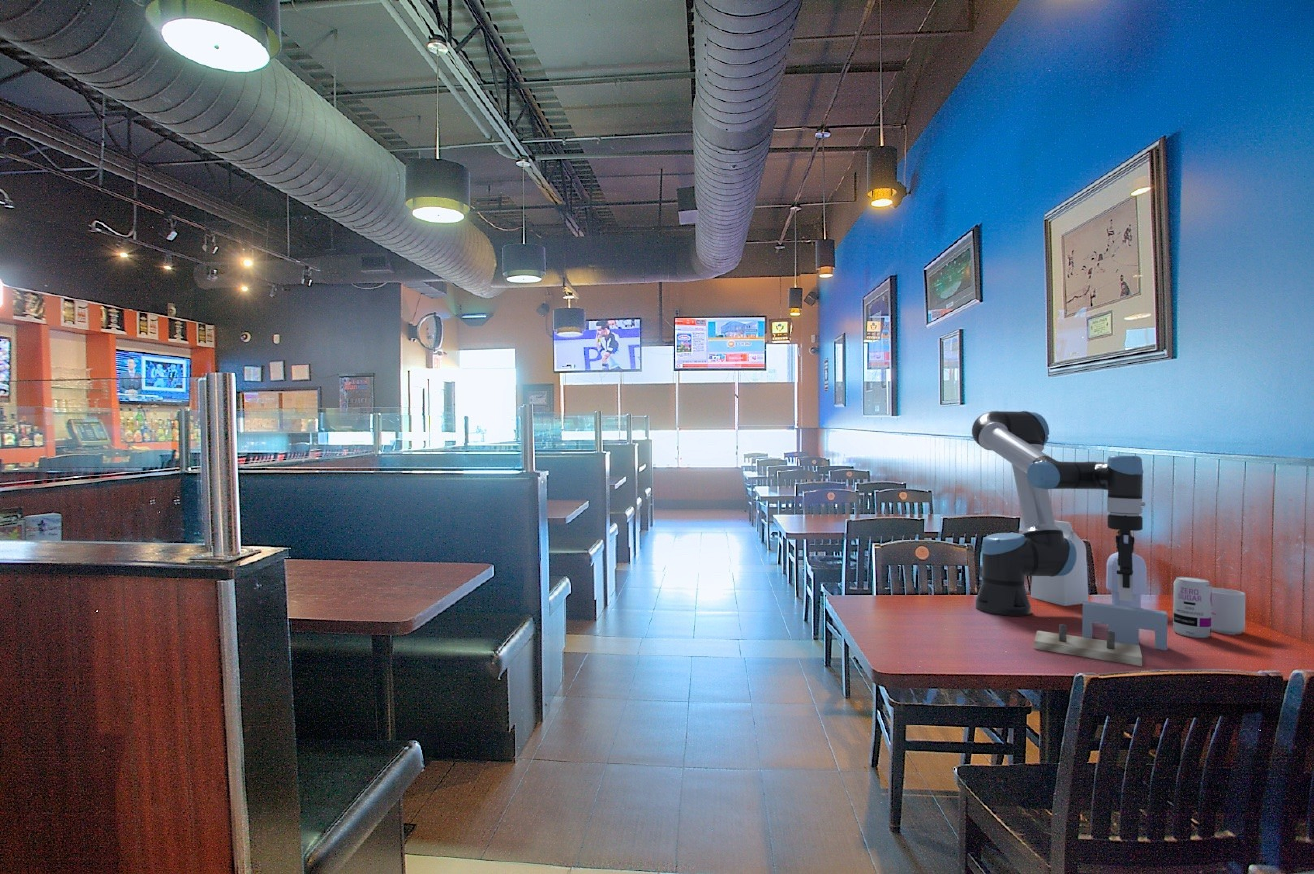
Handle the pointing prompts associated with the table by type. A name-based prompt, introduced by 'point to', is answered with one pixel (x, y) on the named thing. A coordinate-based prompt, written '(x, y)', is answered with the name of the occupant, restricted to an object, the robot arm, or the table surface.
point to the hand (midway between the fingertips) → (1124, 595)
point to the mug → (1227, 611)
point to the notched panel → (1125, 622)
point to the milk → (1065, 577)
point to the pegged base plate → (1088, 646)
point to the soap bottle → (1138, 580)
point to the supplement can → (1192, 607)
